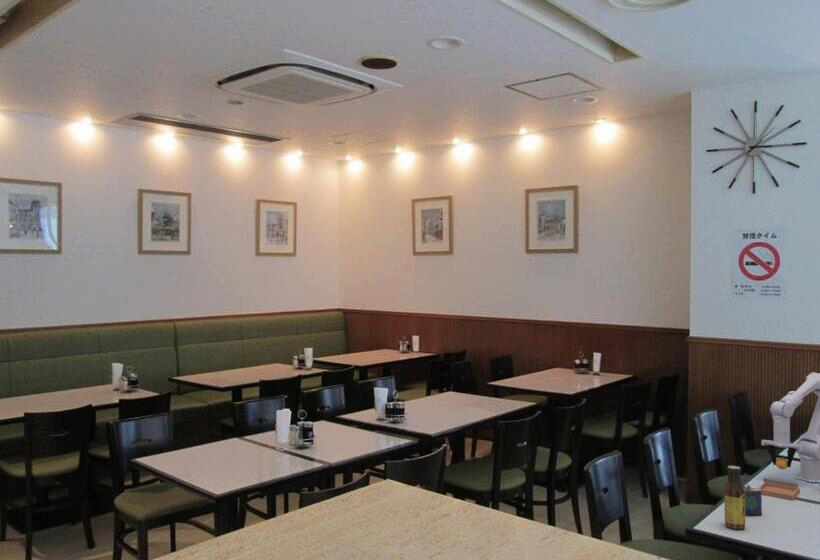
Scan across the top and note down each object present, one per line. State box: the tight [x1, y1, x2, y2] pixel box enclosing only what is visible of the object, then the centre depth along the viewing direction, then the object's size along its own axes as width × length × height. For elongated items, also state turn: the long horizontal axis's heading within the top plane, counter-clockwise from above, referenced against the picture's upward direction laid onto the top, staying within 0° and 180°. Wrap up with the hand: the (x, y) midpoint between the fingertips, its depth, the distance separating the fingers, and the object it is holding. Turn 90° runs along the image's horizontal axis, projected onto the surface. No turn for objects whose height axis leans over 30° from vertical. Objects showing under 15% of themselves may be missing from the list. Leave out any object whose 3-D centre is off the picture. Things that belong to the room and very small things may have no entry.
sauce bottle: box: [723, 465, 746, 530], centre depth 223 cm, size 6×6×20 cm
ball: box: [775, 457, 789, 470], centre depth 268 cm, size 5×5×5 cm
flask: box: [743, 483, 763, 517], centre depth 234 cm, size 9×3×11 cm, turn 87°
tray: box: [756, 481, 801, 501], centre depth 257 cm, size 12×12×2 cm
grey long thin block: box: [763, 477, 799, 488], centre depth 263 cm, size 1×12×3 cm, turn 49°
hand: (781, 465), depth 268 cm, fingers closed on ball, 5 cm apart
